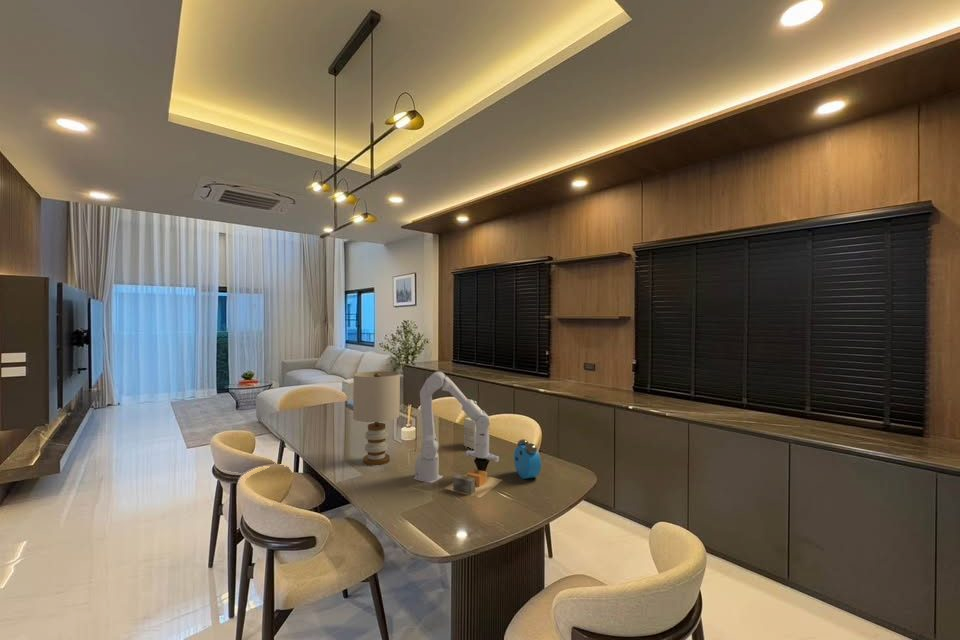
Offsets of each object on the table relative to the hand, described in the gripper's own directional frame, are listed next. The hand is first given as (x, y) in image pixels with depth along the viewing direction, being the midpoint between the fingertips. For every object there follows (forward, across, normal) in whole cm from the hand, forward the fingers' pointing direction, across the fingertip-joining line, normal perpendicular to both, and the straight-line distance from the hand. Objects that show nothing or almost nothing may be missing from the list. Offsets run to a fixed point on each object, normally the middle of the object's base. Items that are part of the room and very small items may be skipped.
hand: (482, 476), depth 161 cm
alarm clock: (+2, -15, -12) cm, 19 cm away
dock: (+1, 0, +6) cm, 6 cm away
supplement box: (+2, +24, -36) cm, 43 cm away
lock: (+1, 0, +5) cm, 5 cm away
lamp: (+2, +53, +6) cm, 53 cm away
